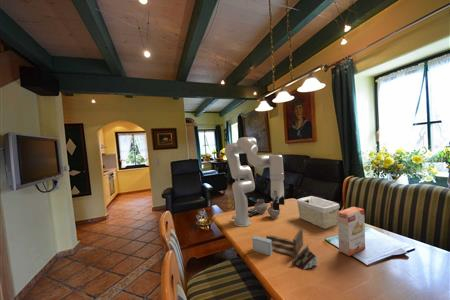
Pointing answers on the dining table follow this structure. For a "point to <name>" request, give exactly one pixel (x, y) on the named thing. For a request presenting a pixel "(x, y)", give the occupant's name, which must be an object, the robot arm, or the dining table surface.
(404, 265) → the dining table surface
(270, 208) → the pottery
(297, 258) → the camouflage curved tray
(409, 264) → the dining table surface
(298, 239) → the track base
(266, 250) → the door slab
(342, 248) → the cracker box
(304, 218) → the storage basket
